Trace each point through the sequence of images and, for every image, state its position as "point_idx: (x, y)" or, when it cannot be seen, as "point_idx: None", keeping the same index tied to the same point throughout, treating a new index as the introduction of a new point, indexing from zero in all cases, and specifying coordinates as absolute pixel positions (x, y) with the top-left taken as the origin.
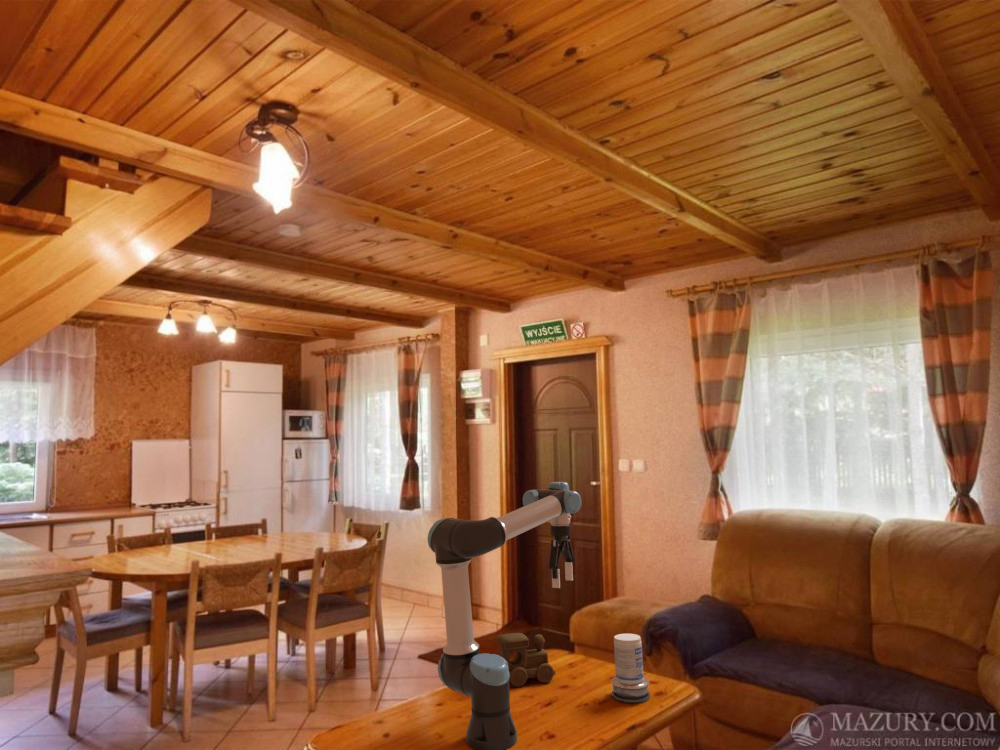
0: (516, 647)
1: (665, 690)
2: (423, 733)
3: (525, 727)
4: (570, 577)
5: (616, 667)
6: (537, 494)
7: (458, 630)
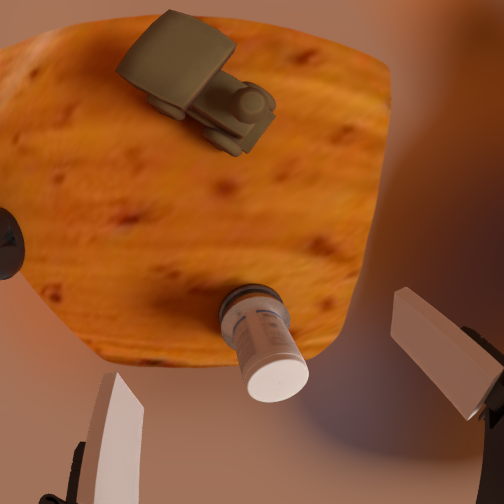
0: (148, 93)
1: (302, 334)
2: None
3: (45, 251)
4: (404, 336)
5: (240, 332)
6: None
7: None
